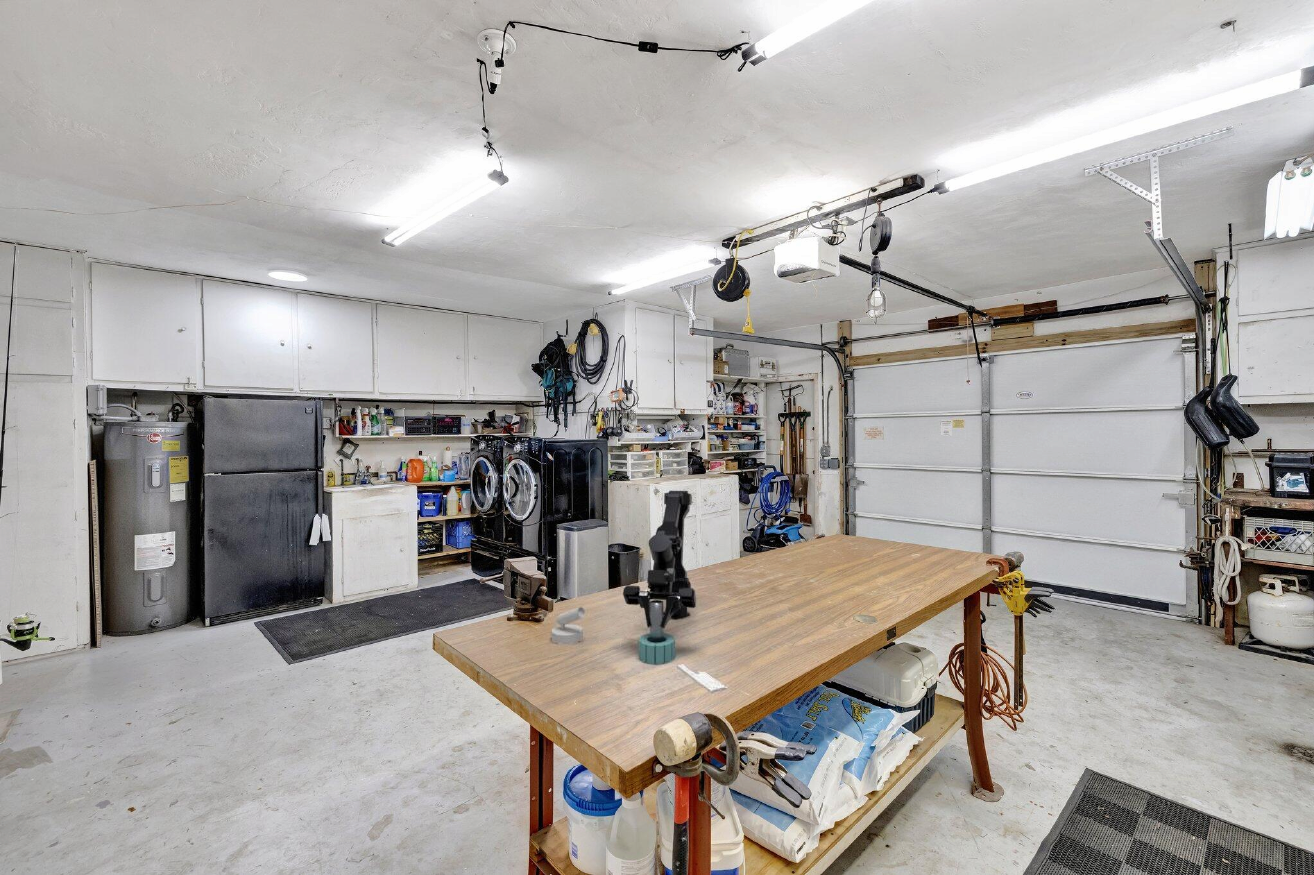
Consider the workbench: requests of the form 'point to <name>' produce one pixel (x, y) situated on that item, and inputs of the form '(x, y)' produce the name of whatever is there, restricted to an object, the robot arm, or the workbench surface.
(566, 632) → the wall hook
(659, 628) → the shiny metal cylinder
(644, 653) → the teal notched ring
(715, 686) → the butcher knife
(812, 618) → the workbench surface
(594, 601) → the workbench surface
